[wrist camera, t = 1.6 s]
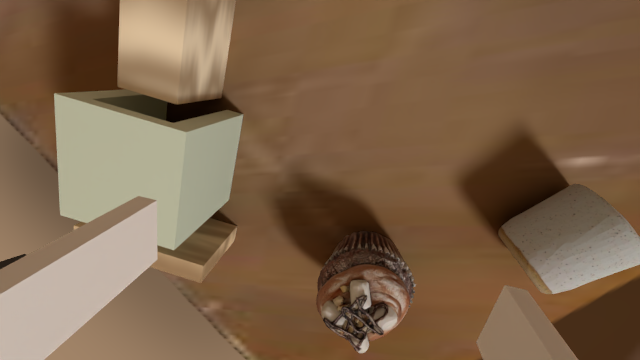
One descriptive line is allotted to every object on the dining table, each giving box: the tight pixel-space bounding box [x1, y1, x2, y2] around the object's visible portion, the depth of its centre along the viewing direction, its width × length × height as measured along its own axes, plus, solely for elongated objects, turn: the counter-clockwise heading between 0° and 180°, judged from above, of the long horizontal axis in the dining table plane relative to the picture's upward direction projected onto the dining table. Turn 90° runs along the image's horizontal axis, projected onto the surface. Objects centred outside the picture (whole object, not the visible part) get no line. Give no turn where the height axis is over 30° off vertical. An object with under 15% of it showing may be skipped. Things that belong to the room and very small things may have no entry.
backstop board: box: [74, 218, 237, 283], centre depth 32 cm, size 2×13×8 cm, turn 75°
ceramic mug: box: [498, 184, 640, 294], centre depth 27 cm, size 11×8×8 cm
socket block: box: [54, 89, 243, 250], centre depth 28 cm, size 10×10×11 cm
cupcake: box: [316, 231, 415, 353], centre depth 30 cm, size 10×10×10 cm
